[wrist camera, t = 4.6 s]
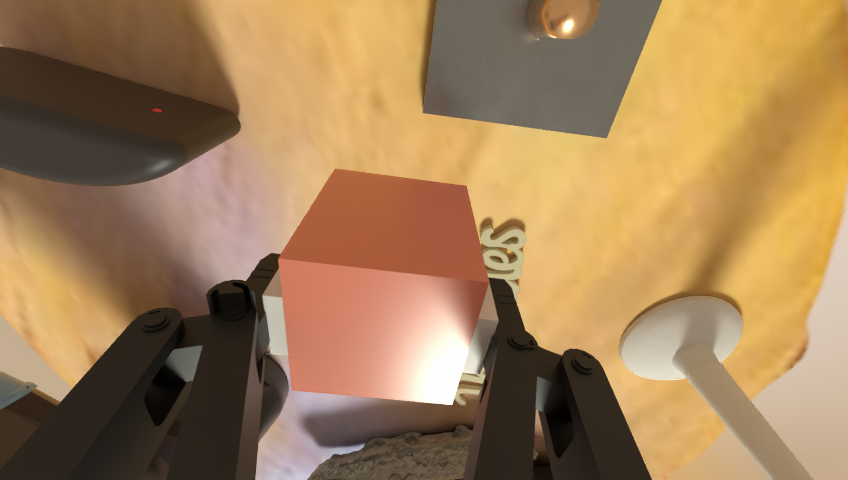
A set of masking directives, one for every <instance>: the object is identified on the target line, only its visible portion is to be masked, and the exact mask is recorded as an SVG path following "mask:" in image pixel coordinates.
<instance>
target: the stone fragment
mask: <svg viewBox="0 0 848 480" xmlns="http://www.w3.org/2000/svg"><path fill="white" fill-rule="evenodd" d="M472 433H473V430H470V429H468V428H467V427H466V426H464V425H457V426H456V430H455V431H454V432H446V433H439V434H431V435H422V436H421V433H416V432H410V433H406V434H402V435H400V436H397V437H394V438H380V437H376V438H372V439H371V440H369V441H368V442H367V443H366V444H365V446H364V447H363V448H362V449H361V450H359V451H354V452H351V453H348V454H342V455H339V454H334V455H333V456H332V457H331V458H330V459H328V460H326V461H325V462H323V463H322V464H320V465H319V466H318V468H317V469H316V470H315V471H314V472H313V473H312V474H311V476H310V477H309V478H308V479H307V480H454V479H462V478H463V476H464V471H465V467H466V462H467V457H468V452H469V447H470V442H471V437H472ZM536 455H538V454H537V452H536V451H535V448H534V456H533V460H534V459H536Z"/></svg>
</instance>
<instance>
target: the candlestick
mask: <svg viewBox="0 0 848 480" xmlns="http://www.w3.org/2000/svg"><path fill="white" fill-rule="evenodd" d="M742 332H743V319H742V317H741V315H740V313H739V312H738V310H737V309H736V308H735V307H733V306H732V305H731V304H730V303H728V302H727V301H725V300H723V299H720V298H717V297H712V296H688V297H682V298H678V299H674V300H671V301H668V302H665V303H663V304H660V305H658V306H656V307H654V308H652V309H650V310H649V311H647V312H645V313H644V314H642V315H641V316H640V317H638V318H637V319H636V320H635V321H634V322H633V323H632V324H631V325H630V326H629V327H628V328H627V330H626V331H625V333H624V334H623V336H622V338H621V341H620V344H619V355H620V358H621V360H622V362H623V363H624V365H625V366H626V367H627V369H629V370H630V371H631V372H632V373H634V374H636V375H638V376H641V377H644V378H648V379H654V380H678V379H683V378H687V380H688V381H689V382H690V383H691V384H692V385H693V386H694V388H695V389H696V390H697V391H698V392H699V394H700V395H701V396H702V397H703V398H704V399H705V401H706V402H707V403H708V404H709V405H710V407H711V408H712V409H713V410H714V411H715V413H716V414H717V415H718V416H719V417H720V419H721V420H722V421H723V422H724V424H725V425H726V426H727V427H728V428H729V430H730V431H731V432H732V433H733V434H734V436H735V437H736V438H737V439H738V440H739V441H740V443H741V444H742V445H743V446H744V448H745V449H746V450H747V451H748V452H749V453H750V455H751V456H752V457H753V458H754V460H755V461H756V462H757V463H758V464H759V466H760V467H761V468H762V469H763V470H764V472H765V473H766V474H767V475H768V476H769V478H770V479H771V480H813V478H812V477H811V476H810V475H809V473H808V472H807V471H806V470H805V468H804V467H803V466H802V465H801V463H800V462H799V461H798V460H797V458H796V457H795V456H794V455H793V453H792V452H791V451H790V450H789V448H788V447H787V446H786V445H785V444H784V442H783V441H782V440H781V438H780V437H779V436H778V435H777V433H776V432H775V431H774V430H773V428H772V427H771V426H770V425H769V423H768V422H767V421H766V419H765V418H764V417H763V416H762V414H761V413H760V412H759V411H758V410H757V408H756V407H755V406H754V404H752V402H751V401H750V399H749V398H748V397H747V396H746V394H745V393H744V392H743V391H742V389H741V388H740V387H739V386H738V384H737V383H736V382H735V381H734V379H733V378H732V377H731V376H730V374H729V373H728V372H727V370H726V369H725V368H724V366H723V365H722V364H721V363H720V362H722V361H723V360H724V359H725V358H727V357H728V356H729V355H730V353H731V352H732V351H733V350H734V349H735V347H736V346H737V344H738V342H739V340H740V338H741V335H742Z"/></svg>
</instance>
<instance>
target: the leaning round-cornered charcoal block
mask: <svg viewBox="0 0 848 480" xmlns="http://www.w3.org/2000/svg"><path fill="white" fill-rule="evenodd" d="M240 128H241V124H240V121H239V119H238V118H237V117H236V116H235V115H234V114H232V113H231V112H229V111H227V110H225V109H222V108H219V107H216V106H212V105H209V104H205V103H202V102H199V101H195V100H192V99H188V98H185V97H181V96H178V95H175V94H171V93H168V92H164V91H161V90H157V89H154V88H150V87H147V86H144V85H140V84H137V83H133V82H130V81H126V80H123V79H120V78H116V77H113V76H109V75H106V74H102V73H99V72H96V71H92V70H89V69H85V68H82V67H78V66H75V65H72V64H68V63H65V62H61V61H58V60H54V59H51V58H47V57H44V56H41V55H37V54H34V53H30V52H27V51H23V50H18V49H13V48H7V47H0V168H3V169H6V170H9V171H13V172H16V173H20V174H23V175H27V176H31V177H35V178H39V179H44V180H49V181H55V182H61V183H68V184H76V185H87V186H118V185H129V184H135V183H141V182H145V181H149V180H153V179H156V178H159V177H162V176H164V175H166V174H169V173H171V172H172V171H174V170H176V169H178V168H179V167H181V166H183V165H185V164H186V163H188V162H190V161H192V160H193V159H195V158H197V157H199V156H200V155H202V154H204V153H205V152H207V151H209V150H211V149H212V148H214V147H216V146H218V145H219V144H221V143H223V142H225V141H226V140H228V139H230V138H232V137H233V136H235V135H236V134H237V133H238V132H239V131H240Z"/></svg>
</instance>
